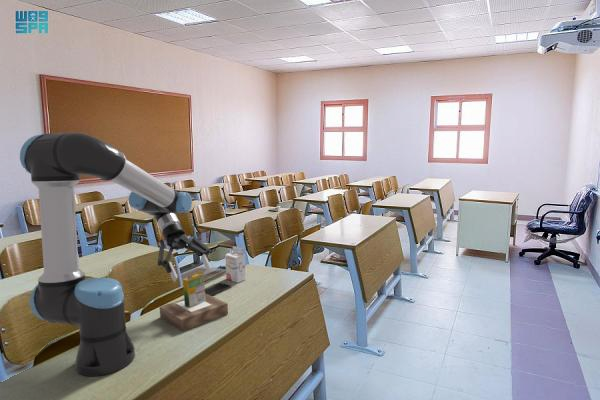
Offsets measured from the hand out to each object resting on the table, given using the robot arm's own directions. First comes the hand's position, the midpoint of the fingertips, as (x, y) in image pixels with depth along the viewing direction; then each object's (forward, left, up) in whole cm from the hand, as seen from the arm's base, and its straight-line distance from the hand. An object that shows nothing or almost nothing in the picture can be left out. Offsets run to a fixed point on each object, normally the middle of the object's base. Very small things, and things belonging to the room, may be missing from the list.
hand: (193, 274), depth 142 cm
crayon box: (-1, -2, -10) cm, 10 cm away
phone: (+16, +14, -15) cm, 26 cm away
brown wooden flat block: (-2, -2, -14) cm, 15 cm away
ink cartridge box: (+31, +19, -15) cm, 39 cm away
